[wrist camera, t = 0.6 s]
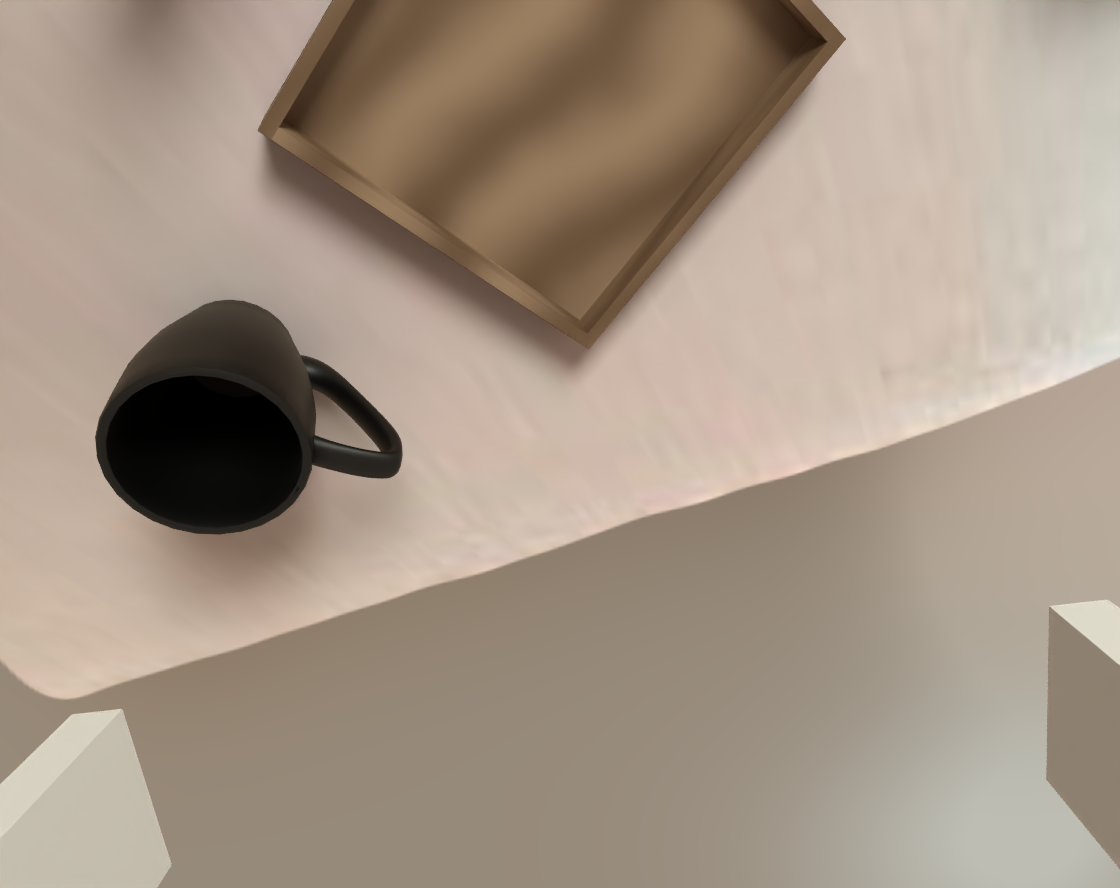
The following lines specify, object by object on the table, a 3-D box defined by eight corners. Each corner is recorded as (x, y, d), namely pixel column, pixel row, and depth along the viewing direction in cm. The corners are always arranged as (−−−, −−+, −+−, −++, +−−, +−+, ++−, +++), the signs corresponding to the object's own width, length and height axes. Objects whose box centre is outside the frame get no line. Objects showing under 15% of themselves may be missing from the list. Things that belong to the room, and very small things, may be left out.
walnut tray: (264, 117, 36) (257, 130, 34) (512, -307, 30) (522, -322, 28) (578, 328, 44) (588, 348, 42) (820, 31, 38) (845, 38, 36)
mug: (378, 444, 46) (380, 557, 38) (140, 405, 42) (89, 522, 34) (412, 311, 42) (423, 406, 34) (154, 254, 38) (99, 346, 30)
